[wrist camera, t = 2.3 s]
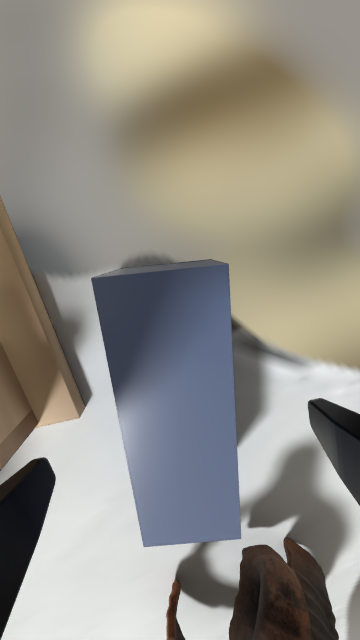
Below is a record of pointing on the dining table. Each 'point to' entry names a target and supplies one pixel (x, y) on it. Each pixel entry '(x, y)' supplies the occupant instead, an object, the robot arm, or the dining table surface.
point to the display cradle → (28, 354)
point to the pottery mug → (274, 598)
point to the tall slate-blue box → (175, 396)
